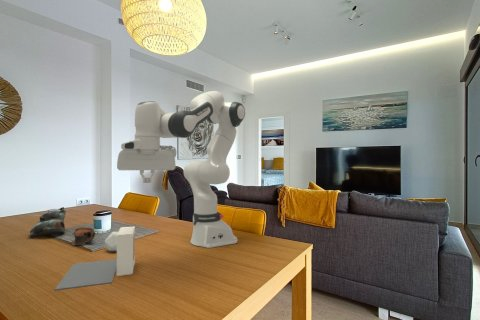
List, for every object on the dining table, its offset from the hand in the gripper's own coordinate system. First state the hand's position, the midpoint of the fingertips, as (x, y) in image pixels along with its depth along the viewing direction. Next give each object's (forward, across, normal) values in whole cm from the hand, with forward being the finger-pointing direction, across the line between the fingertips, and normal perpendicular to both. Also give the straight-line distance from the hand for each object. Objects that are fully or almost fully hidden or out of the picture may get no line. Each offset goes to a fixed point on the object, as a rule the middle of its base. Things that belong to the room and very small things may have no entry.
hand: (147, 182), depth 96 cm
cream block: (+31, +7, 0) cm, 32 cm away
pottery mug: (+32, +29, -36) cm, 56 cm away
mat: (+31, +18, 0) cm, 36 cm away
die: (+31, +13, -22) cm, 40 cm away
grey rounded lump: (+31, +50, -57) cm, 82 cm away
